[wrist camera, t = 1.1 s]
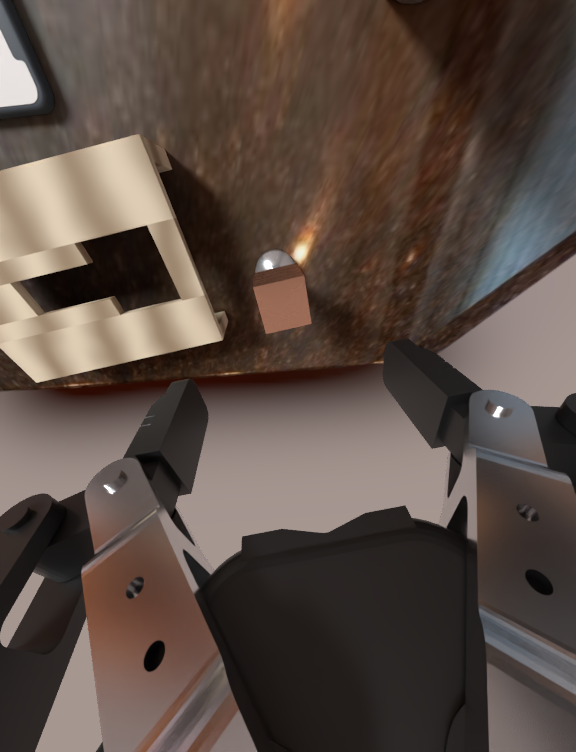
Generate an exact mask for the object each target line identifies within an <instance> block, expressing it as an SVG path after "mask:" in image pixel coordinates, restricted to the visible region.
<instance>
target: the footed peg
mask: <svg viewBox="0 0 576 752" xmlns="http://www.w3.org/2000/svg"><path fill="white" fill-rule="evenodd" d="M253 289H254V292H255V296H256V299H257V303H258V307H259V310H260V314H261V317H262V321H263V324H264V328H265V332H266V334H268V333H273V332H277V331H281V330H286V329H290V328H295V327H299V326H303V325H308V324H311V318H310V311H309V304H308V298H307V291H306V284H305V278H304V274H303V273H302V271H301V270H300V268H299V267H298V265H297V264H296V263H294V261H293V260H292V258H291V257H290V255H289V254H287V253H286V252H285V251H283V250H280V249H270V250H268V251H266V252H264V253H263V254H262V255H261V256H260V257H259V259H258V261H257V264H256V273H254V284H253Z"/></svg>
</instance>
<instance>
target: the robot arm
mask: <svg viewBox="0 0 576 752" xmlns="http://www.w3.org/2000/svg"><path fill="white" fill-rule="evenodd" d="M396 1H398V2H400V3H406V4H415V3H418V2H422V1H425V0H396ZM383 380H384V384H385V386H386V387H387V389H388V390H389V392H390V393H391V394H392V396H393V397H394V398H395V400H396V401H397V402H398V404H399V405H400V406H401V408H402V409H403V410H404V412H405V413H406V414H407V416H408V417H409V418H410V420H411V421H412V423H413V424H414V425H415V426H416V428H417V429H418V431H419V432H420V433H421V435H422V436H423V437H424V439H425V440H426V441H427V443H428V444H429V445H430V447H431V448H438V447H443V446H446V447H447V448H448V450H449V454H448V457H447V469H446V480H445V491H444V502H443V508H442V513H441V516H440V521H439V525H438V524H435V523H431V522H429V521H425V520H420V519H415V518H411V516H410V514H409V512H408V510H407V508H406V506H400V507H396V508H390V509H385V510H379V511H374V512H369V513H365V514H363V515H361V516H359V517H357V518H355V519H353V520H351V521H350V522H348V523H346V524H344V525H342V526H340V527H338V528H336V529H334V530H333V531H330V532H328V533H315V532H306V531H296V530H287V529H280V530H274V531H269V532H264V533H259V534H254V535H249V536H243V537H242V550H241V551H239V552H237V553H236V554H234V555H233V556H231V557H230V558H228V559H227V560H226V561H225V562H224V563H222V564H221V565H220V566H219V567H218V568H217V569H216V570H214V569H213V567H212V566H211V564H210V563H209V561H208V560H207V559H206V557H205V556H204V554H203V553H202V551H201V549H200V548H199V546H198V544H197V542H196V540H195V538H194V537H193V535H192V533H191V531H190V529H189V527H188V525H187V524H186V522H185V520H184V518H183V516H182V515H181V513H180V511H179V509H178V508H177V506H176V502H177V498H178V496H180V495H186V494H191V491H192V487H193V483H194V479H195V475H196V470H197V466H198V462H199V457H200V453H201V449H202V444H203V441H204V436H205V431H206V428H207V423H208V411H207V407H206V405H205V403H204V400H203V398H202V396H201V394H200V392H199V390H198V388H197V386H196V384H195V382H194V381H193V380H192V379H187V380H181V381H176V382H172V383H171V384H170V386H169V388H168V390H167V392H166V394H165V396H162V397H160V398H159V399H158V400H157V401H156V402H155V403H154V404H153V405H152V406H151V408H150V410H149V411H148V413H147V415H146V418H145V419H144V421H143V422H142V424H141V427H140V428H139V430H138V432H137V433H136V435H135V437H134V439H133V441H132V443H131V444H130V446H129V448H128V450H127V452H126V454H125V455H124V457H123V459H120V460H117V461H115V462H113V463H111V464H109V465H108V466H106V467H105V468H103V469H102V470H101V471H100V472H99V473H97V474H96V475H95V477H94V478H93V479H92V480H91V481H90V483H89V484H88V486H87V488H86V490H84V491H82V492H80V493H78V494H75V495H73V496H71V497H68V498H66V499H64V500H62V501H59V502H58V501H56V500H55V499H54V498H52V497H51V496H50V495H48V494H38V495H34V496H31V497H29V498H27V499H25V500H23V501H21V502H19V503H18V504H16V505H15V506H13V507H12V508H10V509H9V510H8V511H7V512H5V513H4V514H3V515H2V516H1V517H0V631H1V627H2V625H3V622H4V620H5V618H6V617H7V615H8V613H9V612H10V610H11V608H12V606H13V605H14V603H15V601H16V599H17V598H18V596H19V594H20V593H21V591H22V589H23V588H24V586H25V584H26V582H27V580H28V579H29V577H30V576H31V574H32V572H34V573H37V574H39V575H41V576H44V577H45V578H44V580H43V582H42V584H41V586H40V587H39V589H38V591H37V593H36V595H35V597H34V599H33V600H32V602H31V604H30V606H29V608H28V610H27V612H26V614H25V615H24V617H23V619H22V621H21V623H20V625H19V626H18V628H17V630H16V632H15V634H14V636H13V637H12V639H11V641H10V643H9V645H8V647H7V648H6V647H4V646H3V645H2V644H1V643H0V752H35V750H36V747H37V745H38V742H39V739H40V737H41V734H42V731H43V729H44V726H45V723H46V721H47V718H48V716H49V713H50V711H51V708H52V705H53V703H54V700H55V698H56V695H57V692H58V690H59V687H60V684H61V682H62V679H63V677H64V674H65V671H66V669H67V666H68V664H69V661H70V658H71V656H72V653H73V651H74V648H75V645H76V643H77V640H78V637H79V635H80V632H81V630H82V627H83V624H84V622H85V619H86V617H87V623H88V631H89V638H90V647H91V655H92V662H93V670H94V677H95V686H96V693H97V701H98V708H99V717H100V725H101V732H102V740H103V742H102V743H101V745H100V747H99V748H98V750H97V751H96V752H576V393H574V394H571V395H569V396H568V397H567V398H566V399H565V401H564V402H563V404H562V405H561V407H540V406H529V405H528V404H527V403H526V402H525V401H523V400H522V399H520V398H518V397H516V396H514V395H511V394H508V393H505V392H501V391H496V390H482V389H481V388H480V387H478V386H477V385H476V384H475V383H473V382H472V381H470V380H469V379H468V378H467V377H466V376H464V375H463V374H462V373H460V372H459V371H458V370H457V369H455V368H453V366H452V365H450V364H449V363H448V362H445V360H444V359H443V358H441V357H440V356H439V355H437V354H436V353H434V352H432V351H429V350H427V349H424V348H419V347H418V346H417V345H415V344H414V343H413V342H412V341H411V340H409V339H407V338H406V339H400V340H395V341H390V342H387V343H386V346H385V354H384V365H383Z"/></svg>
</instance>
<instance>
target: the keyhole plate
mask: <svg viewBox="0 0 576 752" xmlns="http://www.w3.org/2000/svg"><path fill="white" fill-rule="evenodd" d="M169 170H172V168H171V165H170V162H169V159H168V157H167V154H166V151H165V149H163V148H161V147H160V146H158V145H156V144H155V143H153V142H152V141H150V140H148V139H147V138H145V137H143V136H142V135H140V134H137V135H133V136H130V137H126V138H122V139H118V140H115V141H111V142H107V143H103V144H100V145H96V146H92V147H88V148H84V149H81V150H77V151H73V152H69V153H66V154H62V155H58V156H54V157H51V158H47V159H43V160H39V161H36V162H32V163H28V164H24V165H21V166H17V167H13V168H9V169H6V170H2V171H0V348H1V349H2V350H3V351H4V352H5V353H6V354H7V355H8V356H9V357H10V358H11V359H12V360H13V361H14V362H15V363H17V364H18V365H19V366H20V367H21V368H22V369H23V370H24V371H25V372H26V373H27V374H28V375H29V376H30V377H31V378H32V379H33V380H34V381H35V382H36V383H37V382H42V381H46V380H50V379H55V378H59V377H64V376H68V375H72V374H77V373H81V372H86V371H90V370H94V369H99V368H103V367H108V366H112V365H117V364H121V363H125V362H130V361H134V360H139V359H143V358H147V357H152V356H156V355H161V354H165V353H169V352H174V351H178V350H183V349H187V348H191V347H196V346H200V345H205V344H209V343H213V342H218V341H222V340H223V338H224V334H225V331H226V327H227V324H228V319H227V316H226V314H225V311H222V312H218V313H214V311H213V308H212V306H211V303H210V301H209V298H208V296H207V293H206V291H205V288H204V286H203V283H202V281H201V278H200V276H199V273H198V271H197V268H196V266H195V263H194V261H193V258H192V256H191V253H190V251H189V248H188V246H187V243H186V240H185V238H184V235H183V233H182V230H181V228H180V225H179V223H178V220H177V218H176V215H175V213H174V210H173V208H172V205H171V203H170V200H169V198H168V195H167V193H166V190H165V188H164V185H163V183H162V180H161V178H160V175H159V173H161V172H165V171H169ZM143 226H148V229H149V231H150V233H151V235H152V237H153V239H154V241H155V244H156V246H157V248H158V250H159V252H160V254H161V256H162V259H163V261H164V263H165V265H166V267H167V269H168V271H169V274H170V276H171V278H172V280H173V282H174V284H175V286H176V289H177V291H178V293H179V295H180V297H181V299H177V300H173V301H169V302H164V303H160V304H156V305H152V306H147V307H143V308H139V309H135V310H130V311H126V312H124V310H123V308H122V307H121V305H120V304H119V302H118V301H117V299H116V297H115V296H113V297H108V298H104V299H100V300H96V301H92V302H88V303H83V304H79V305H75V306H71V307H67V308H62V309H58V310H54V311H50V312H46V313H45V312H44V311H43V310H42V308H41V307H40V306H39V305H38V304H37V302H36V301H35V300H34V299H33V298H32V296H31V295H30V294H29V293H28V292H27V290H26V289H25V288H24V287H23V286H22V284H21V283H20V282H19V281H21V280H25V279H29V278H33V277H38V276H42V275H46V274H50V273H54V272H58V271H62V270H66V269H70V268H74V267H78V266H82V265H86V264H90V263H93V261H92V259H91V258H90V256H89V254H88V253H87V251H86V250H85V248H84V246H83V245H82V243H81V242H83V241H87V240H91V239H95V238H99V237H103V236H107V235H111V234H115V233H119V232H123V231H127V230H131V229H135V228H139V227H143Z"/></svg>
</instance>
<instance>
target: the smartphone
mask: <svg viewBox="0 0 576 752" xmlns="http://www.w3.org/2000/svg"><path fill="white" fill-rule="evenodd" d="M53 108H54V96H53V93H52V90H51V88H50V86H49V84H48V81H47V79H46V77H45V75H44V72H43V70H42V68H41V65H40V63H39V61H38V59H37V56H36V54H35V52H34V50H33V47H32V45H31V43H30V41H29V38H28V36H27V34H26V32H25V29H24V27H23V25H22V23H21V20H20V18H19V16H18V13H17V11H16V9H15V7H14V4H13V2H12V0H0V120H1V119H5V118H14V117H24V116H33V115H42V114H49V113H50V112H52V110H53Z"/></svg>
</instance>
